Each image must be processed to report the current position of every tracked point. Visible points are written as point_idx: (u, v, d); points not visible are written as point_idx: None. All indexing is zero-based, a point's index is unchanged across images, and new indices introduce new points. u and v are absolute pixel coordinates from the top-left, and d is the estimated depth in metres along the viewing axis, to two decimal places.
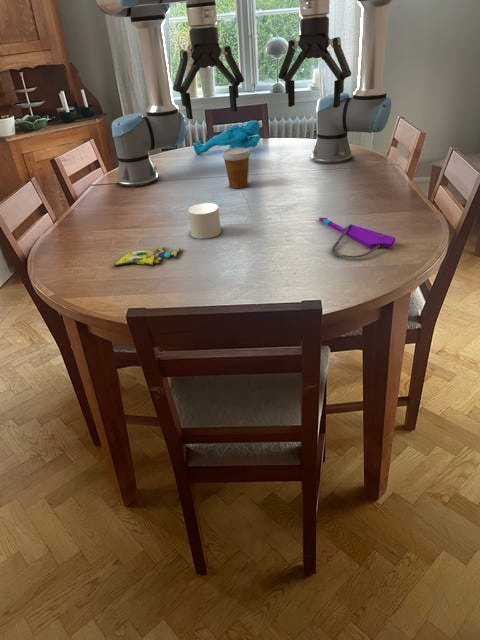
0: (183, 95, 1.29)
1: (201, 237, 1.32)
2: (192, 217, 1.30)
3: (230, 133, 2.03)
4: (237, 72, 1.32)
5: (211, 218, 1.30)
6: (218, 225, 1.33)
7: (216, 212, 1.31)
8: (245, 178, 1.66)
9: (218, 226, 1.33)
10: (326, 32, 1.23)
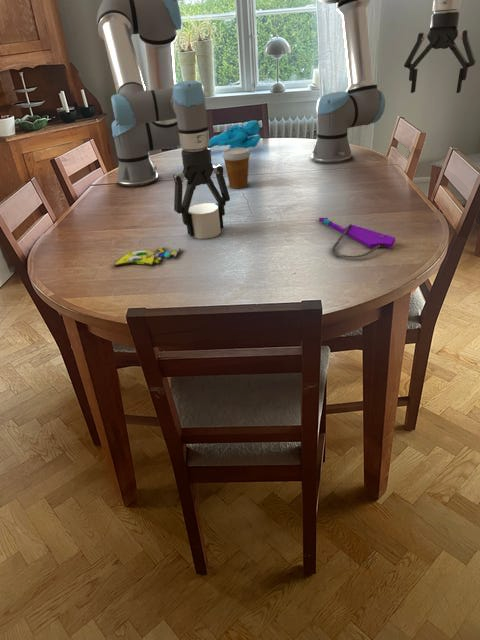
0: (184, 215, 1.30)
1: (201, 237, 1.32)
2: (192, 217, 1.30)
3: (230, 133, 2.03)
4: (225, 191, 1.32)
5: (211, 218, 1.30)
6: (218, 225, 1.33)
7: (216, 212, 1.31)
8: (245, 178, 1.66)
9: (218, 226, 1.33)
10: (457, 26, 1.39)
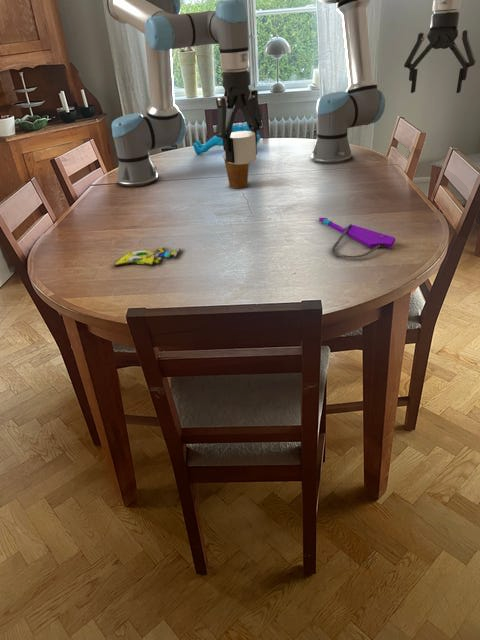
0: (226, 140, 1.31)
1: (242, 162, 1.35)
2: (233, 142, 1.32)
3: None
4: (258, 116, 1.36)
5: (252, 142, 1.33)
6: (255, 150, 1.37)
7: None
8: (245, 178, 1.66)
9: (255, 151, 1.37)
10: (457, 26, 1.39)
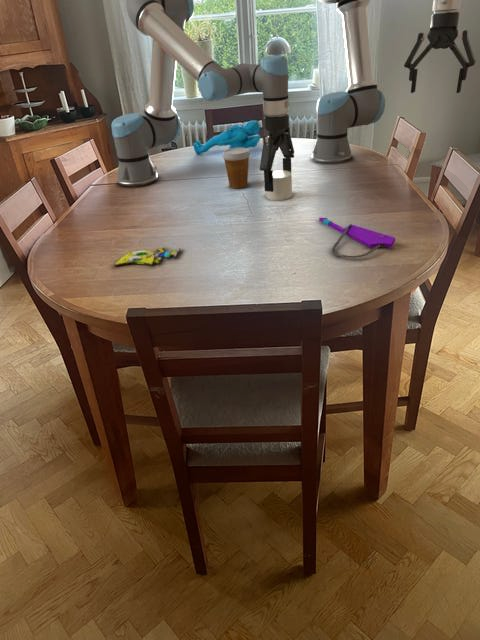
0: (268, 173, 1.46)
1: (284, 198, 1.54)
2: (276, 181, 1.51)
3: (230, 133, 2.03)
4: (291, 147, 1.56)
5: (290, 180, 1.53)
6: None
7: None
8: (245, 178, 1.66)
9: None
10: (457, 26, 1.39)
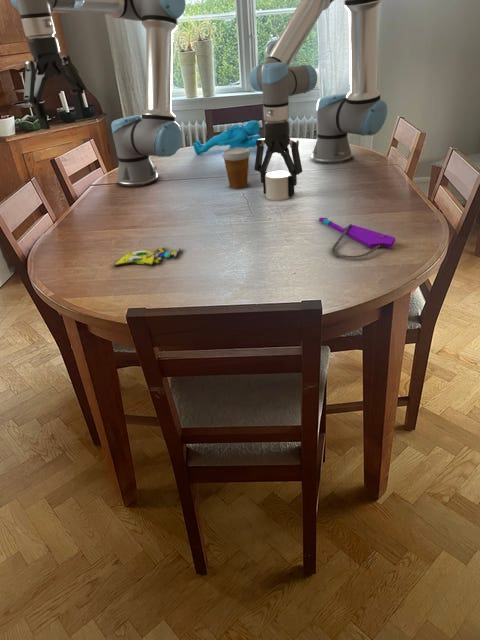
0: (36, 105, 1.27)
1: (284, 198, 1.54)
2: (276, 181, 1.51)
3: (230, 133, 2.03)
4: (79, 80, 1.36)
5: None
6: None
7: None
8: (245, 178, 1.66)
9: None
10: (287, 134, 1.45)
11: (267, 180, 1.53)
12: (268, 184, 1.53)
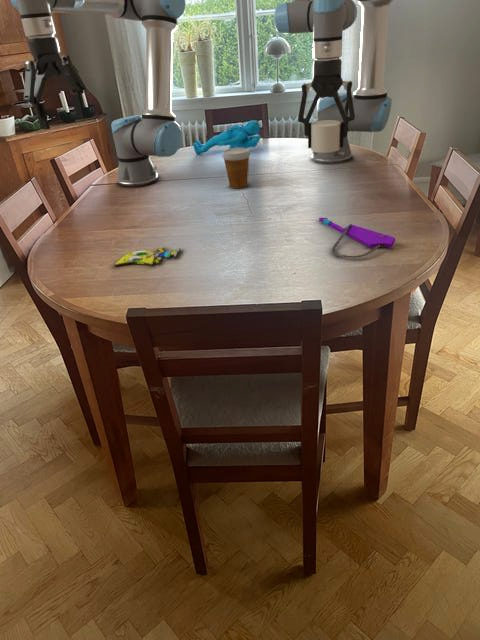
0: (36, 105, 1.27)
1: (336, 149, 1.37)
2: (330, 130, 1.34)
3: (230, 133, 2.03)
4: (79, 80, 1.36)
5: (340, 129, 1.37)
6: None
7: None
8: (245, 178, 1.66)
9: None
10: None
11: (317, 130, 1.35)
12: (319, 135, 1.35)
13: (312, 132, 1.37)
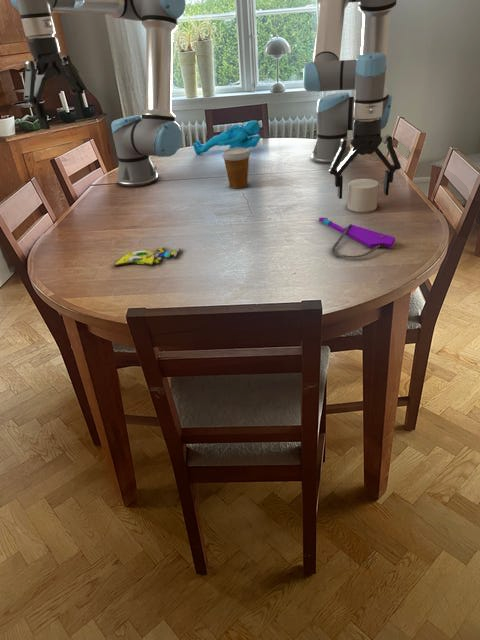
0: (36, 105, 1.27)
1: (375, 208, 1.41)
2: (371, 191, 1.37)
3: (230, 133, 2.03)
4: (79, 80, 1.36)
5: None
6: None
7: None
8: (245, 178, 1.66)
9: None
10: (380, 132, 1.31)
11: (359, 191, 1.37)
12: (360, 195, 1.38)
13: (352, 193, 1.39)
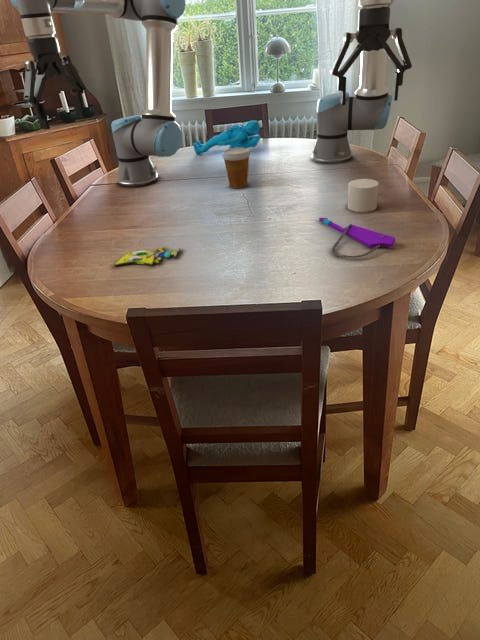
0: (36, 105, 1.27)
1: (375, 208, 1.41)
2: (371, 191, 1.37)
3: (230, 133, 2.03)
4: (79, 80, 1.36)
5: None
6: None
7: None
8: (245, 178, 1.66)
9: None
10: None
11: (359, 191, 1.37)
12: (360, 195, 1.38)
13: (352, 193, 1.39)
